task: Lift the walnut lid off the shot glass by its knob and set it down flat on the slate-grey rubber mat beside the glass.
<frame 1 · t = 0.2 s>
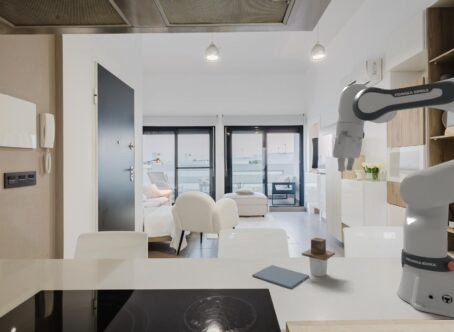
hand: (345, 170, 104), 39 cm above the counter, tool pointing down, fingers open, 8 cm apart
shot glass: (318, 273, 109), on the counter, touching lid
lid: (318, 254, 109), point 7 cm above the counter, touching shot glass
mat: (280, 276, 106), on the counter
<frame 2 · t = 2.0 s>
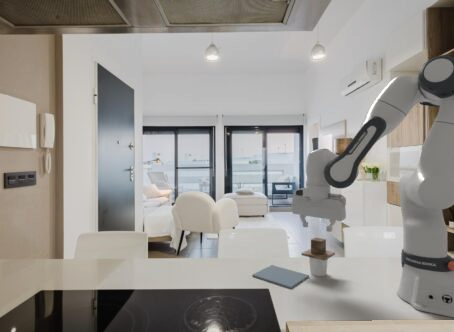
hand: (317, 229, 109), 17 cm above the counter, tool pointing down, fingers open, 8 cm apart
nothing on the counter moved.
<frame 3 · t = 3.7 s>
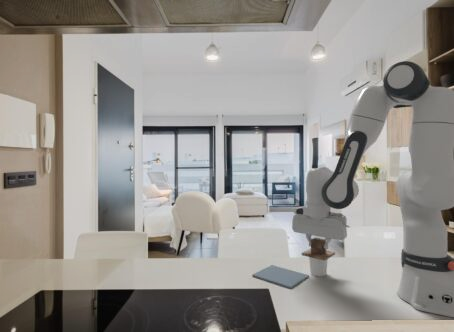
hand: (318, 247, 109), 10 cm above the counter, tool pointing down, fingers closed on lid, 4 cm apart
shot glass: (318, 273, 109), on the counter
lid: (318, 254, 109), point 7 cm above the counter, touching gripper
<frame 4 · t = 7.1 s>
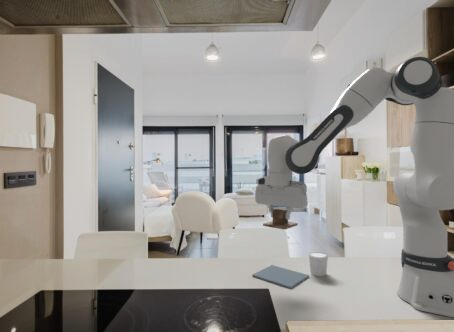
hand: (280, 218, 106), 21 cm above the counter, tool pointing down, fingers closed on lid, 4 cm apart
lid: (280, 225, 106), point 19 cm above the counter, touching gripper
everything else where it was.
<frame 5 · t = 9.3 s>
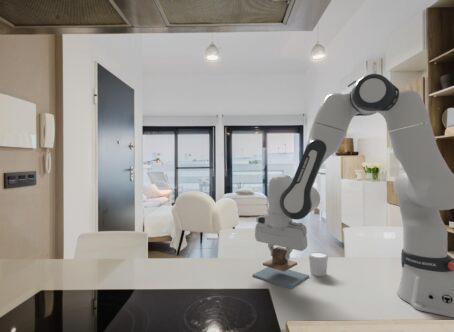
hand: (279, 257, 106), 7 cm above the counter, tool pointing down, fingers closed on lid, 4 cm apart
lid: (280, 264, 106), point 4 cm above the counter, touching gripper
everything else where it was.
when the fingers open (4 cm above the counter, at t = 10.9 s): lid stays where it is, resting on mat.
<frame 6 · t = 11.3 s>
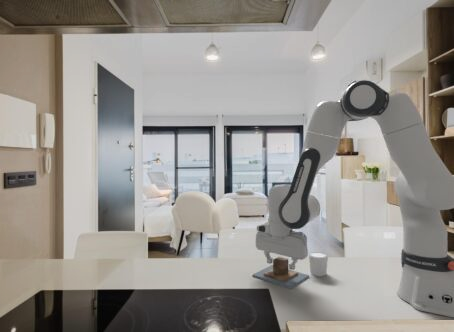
hand: (280, 266, 106), 4 cm above the counter, tool pointing down, fingers open, 8 cm apart
lid: (280, 274, 106), point 1 cm above the counter, touching mat
everything else where it was.
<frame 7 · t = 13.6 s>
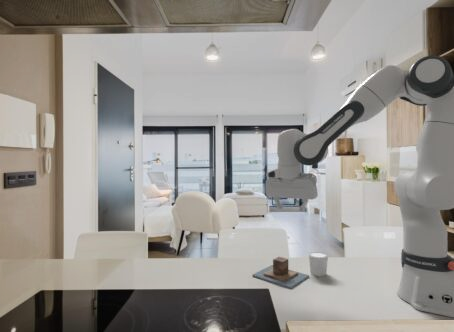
hand: (290, 209, 109), 24 cm above the counter, tool pointing down, fingers open, 8 cm apart
nothing on the counter moved.
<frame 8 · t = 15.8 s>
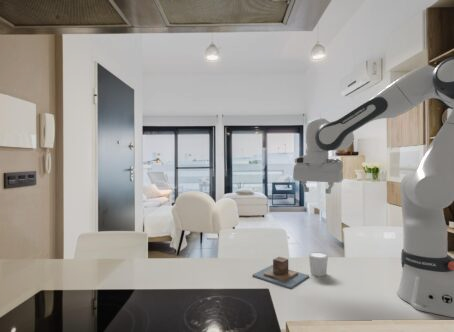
hand: (317, 192, 119), 29 cm above the counter, tool pointing down, fingers open, 8 cm apart
nothing on the counter moved.
at the end: lid inside the target area on the mat (0.1 cm from its centre), point 0.6 cm above the mat's base; lid touching mat; lid tilted 0° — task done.
